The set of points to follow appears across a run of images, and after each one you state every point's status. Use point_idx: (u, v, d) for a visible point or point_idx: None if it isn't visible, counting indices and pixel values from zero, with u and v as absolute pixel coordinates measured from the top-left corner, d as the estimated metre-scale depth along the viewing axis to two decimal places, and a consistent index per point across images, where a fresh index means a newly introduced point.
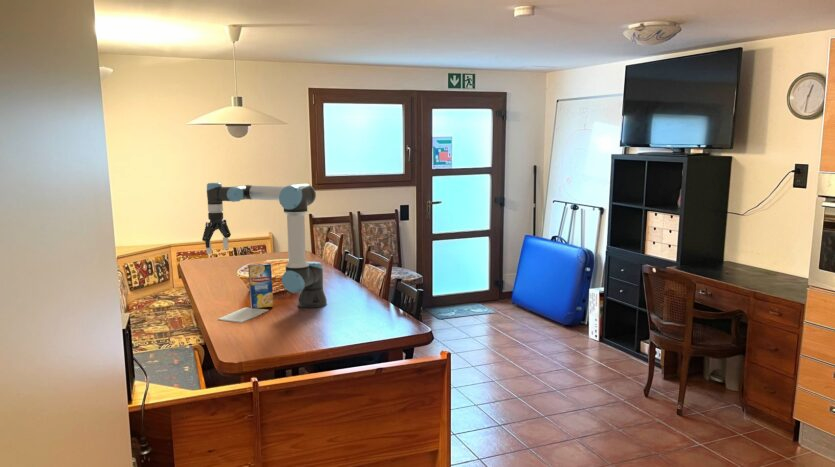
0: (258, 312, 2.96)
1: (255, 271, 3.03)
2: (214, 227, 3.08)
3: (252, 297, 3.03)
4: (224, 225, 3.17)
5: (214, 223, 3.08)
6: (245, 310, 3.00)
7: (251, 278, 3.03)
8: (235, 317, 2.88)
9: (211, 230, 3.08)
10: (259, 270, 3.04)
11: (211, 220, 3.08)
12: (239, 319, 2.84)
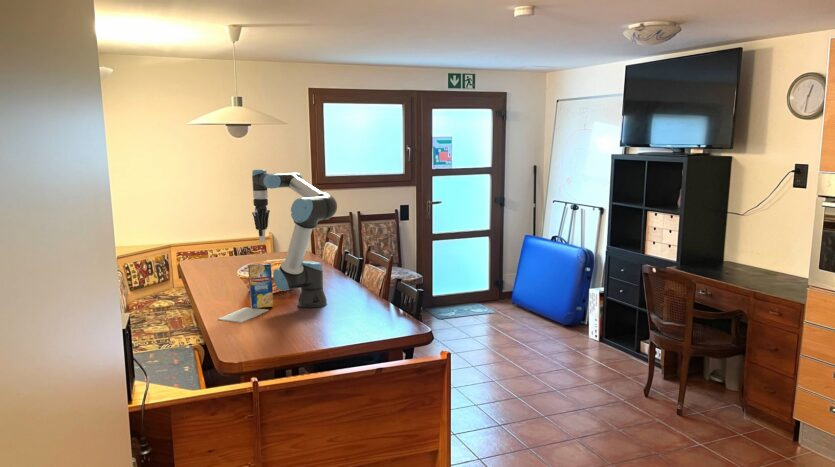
0: (258, 312, 2.96)
1: (255, 271, 3.03)
2: (261, 214, 3.14)
3: (252, 297, 3.03)
4: (266, 215, 3.20)
5: (259, 209, 3.13)
6: (245, 310, 3.00)
7: (251, 278, 3.03)
8: (235, 317, 2.88)
9: (259, 218, 3.15)
10: (259, 270, 3.04)
11: (256, 206, 3.12)
12: (239, 319, 2.84)
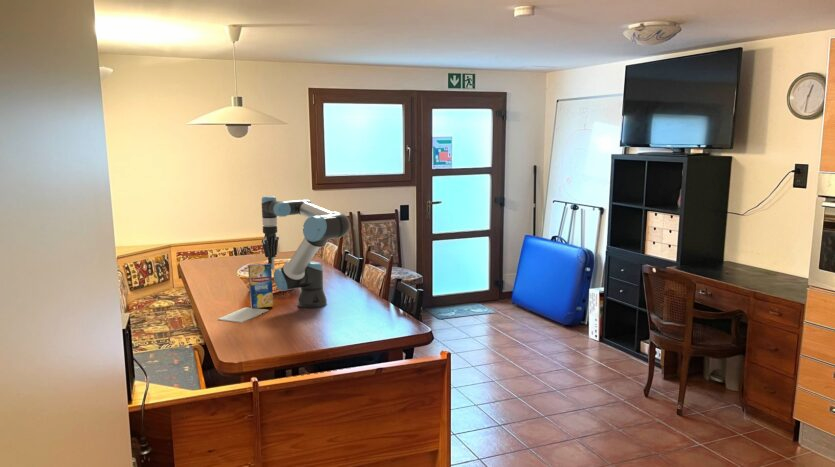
0: (258, 312, 2.96)
1: (255, 271, 3.03)
2: (270, 242, 3.10)
3: (252, 297, 3.03)
4: (275, 242, 3.16)
5: (269, 236, 3.09)
6: (245, 310, 3.00)
7: (251, 278, 3.03)
8: (235, 317, 2.88)
9: (269, 245, 3.11)
10: (259, 270, 3.04)
11: (266, 234, 3.08)
12: (239, 319, 2.84)
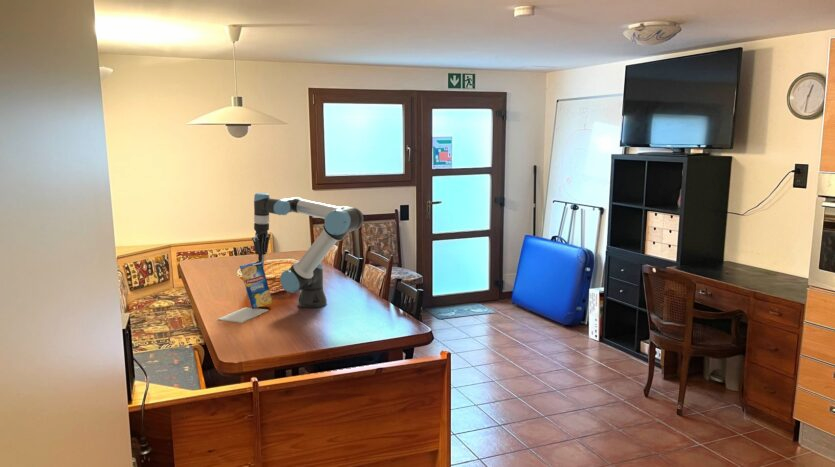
0: (258, 312, 2.96)
1: (248, 273, 2.99)
2: (261, 240, 3.04)
3: (250, 298, 3.02)
4: (266, 239, 3.10)
5: (260, 234, 3.03)
6: (245, 310, 3.00)
7: (245, 280, 2.99)
8: (235, 317, 2.88)
9: (259, 243, 3.05)
10: (251, 271, 3.00)
11: (257, 231, 3.02)
12: (239, 319, 2.84)
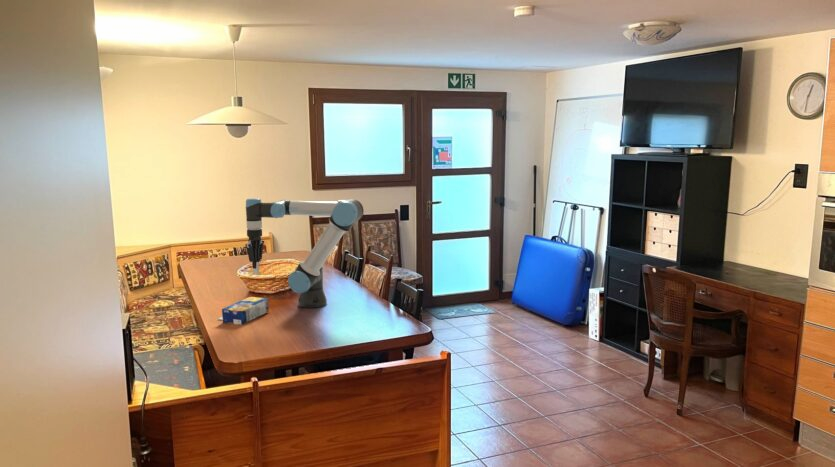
0: None
1: None
2: (255, 246, 2.97)
3: None
4: (260, 245, 3.03)
5: (253, 240, 2.96)
6: None
7: None
8: None
9: (253, 250, 2.98)
10: None
11: (250, 237, 2.96)
12: None
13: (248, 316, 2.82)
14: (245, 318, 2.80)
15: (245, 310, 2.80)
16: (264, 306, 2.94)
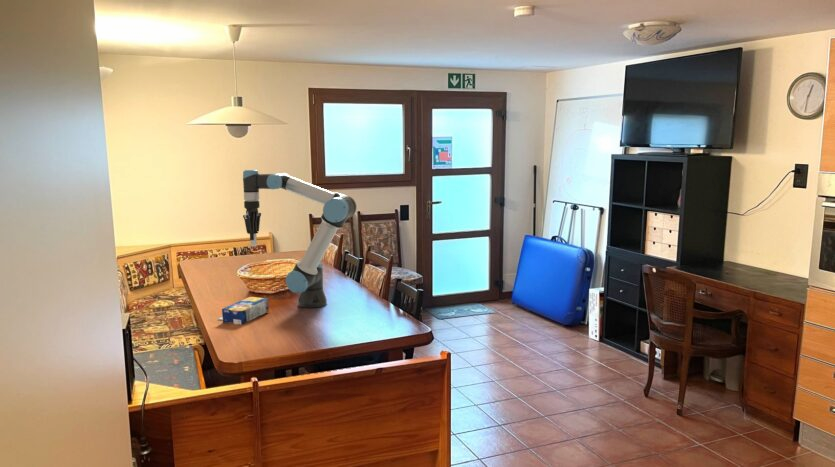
0: None
1: None
2: (252, 218, 2.97)
3: None
4: (257, 218, 3.03)
5: (250, 211, 2.96)
6: None
7: None
8: None
9: (251, 221, 2.98)
10: None
11: (248, 209, 2.95)
12: None
13: (248, 316, 2.82)
14: (245, 318, 2.80)
15: (245, 310, 2.80)
16: (264, 306, 2.94)
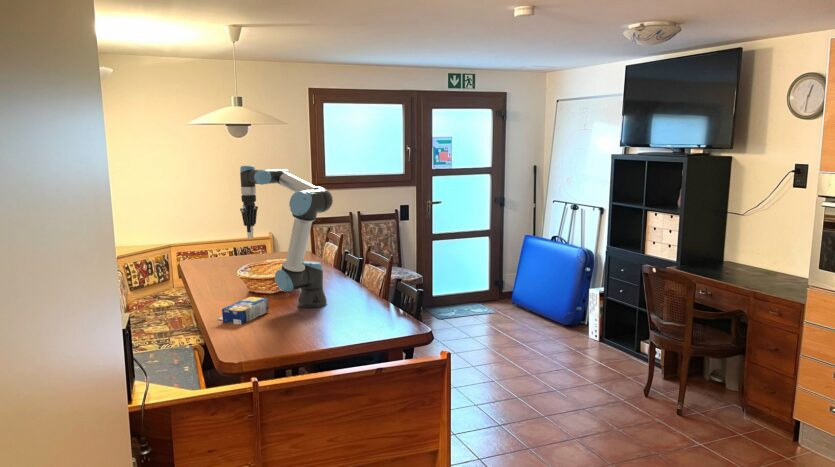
0: None
1: None
2: (249, 211, 3.14)
3: None
4: (254, 211, 3.20)
5: (247, 205, 3.13)
6: None
7: None
8: None
9: (247, 214, 3.15)
10: None
11: (244, 202, 3.12)
12: None
13: (248, 316, 2.82)
14: (245, 317, 2.80)
15: (245, 310, 2.80)
16: (264, 306, 2.94)
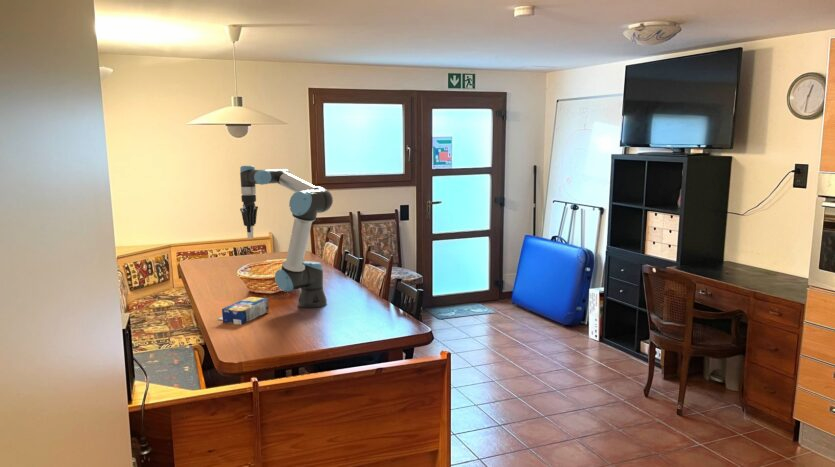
0: None
1: None
2: (249, 211, 3.14)
3: None
4: (254, 211, 3.20)
5: (247, 205, 3.13)
6: None
7: None
8: None
9: (247, 214, 3.15)
10: None
11: (244, 202, 3.12)
12: None
13: (248, 316, 2.82)
14: (245, 317, 2.80)
15: (245, 310, 2.80)
16: (264, 306, 2.94)
